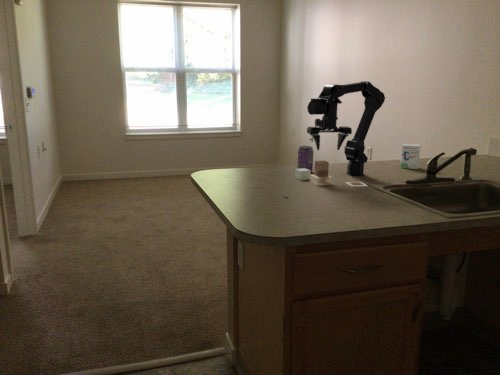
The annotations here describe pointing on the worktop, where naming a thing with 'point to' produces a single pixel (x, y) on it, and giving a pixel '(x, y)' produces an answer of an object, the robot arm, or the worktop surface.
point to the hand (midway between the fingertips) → (328, 150)
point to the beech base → (320, 180)
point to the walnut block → (321, 168)
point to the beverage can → (305, 157)
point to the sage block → (302, 174)
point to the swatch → (356, 184)
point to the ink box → (410, 156)
